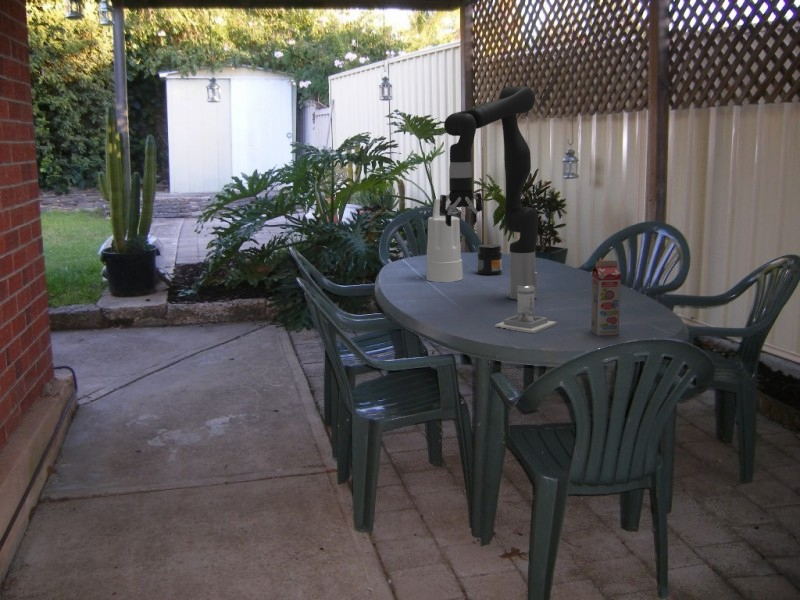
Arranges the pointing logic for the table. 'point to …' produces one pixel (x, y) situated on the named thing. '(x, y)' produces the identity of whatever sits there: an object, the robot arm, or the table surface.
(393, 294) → the table surface
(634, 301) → the table surface
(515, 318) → the duct flange
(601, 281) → the juice carton
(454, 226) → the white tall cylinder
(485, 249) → the supplement container
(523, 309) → the grey canister
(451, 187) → the robot arm
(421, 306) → the table surface
